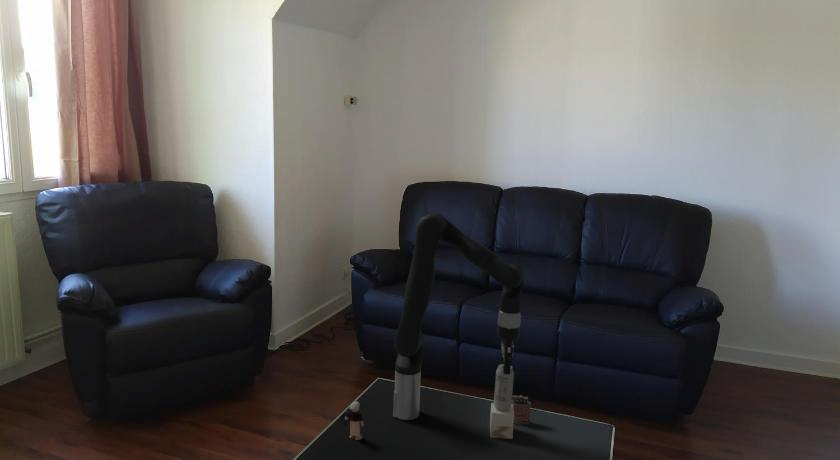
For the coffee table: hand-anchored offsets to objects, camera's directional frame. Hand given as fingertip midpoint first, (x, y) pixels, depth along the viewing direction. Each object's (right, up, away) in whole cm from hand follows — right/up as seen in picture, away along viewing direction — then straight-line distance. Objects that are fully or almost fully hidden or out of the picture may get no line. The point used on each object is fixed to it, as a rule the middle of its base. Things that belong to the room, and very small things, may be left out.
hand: (505, 368), depth 206 cm
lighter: (+6, -22, +12) cm, 26 cm away
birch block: (-1, -23, +5) cm, 24 cm away
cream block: (-1, -19, +4) cm, 19 cm away
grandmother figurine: (-51, -23, -2) cm, 56 cm away
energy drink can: (-1, -15, +3) cm, 15 cm away
